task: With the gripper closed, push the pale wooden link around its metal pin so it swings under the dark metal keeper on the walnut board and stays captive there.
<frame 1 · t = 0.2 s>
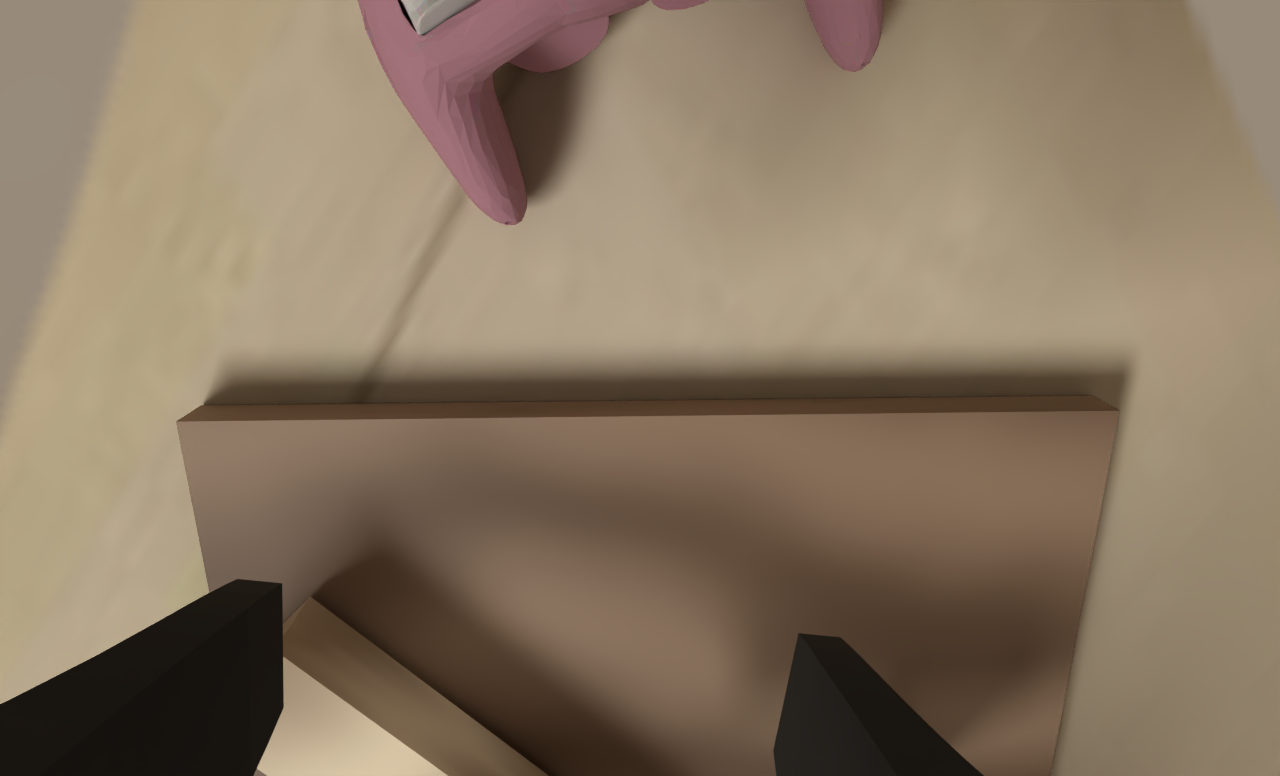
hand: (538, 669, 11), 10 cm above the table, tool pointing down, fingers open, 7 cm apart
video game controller: (630, 24, 18), on the table
walnut board: (651, 747, 24), on the table
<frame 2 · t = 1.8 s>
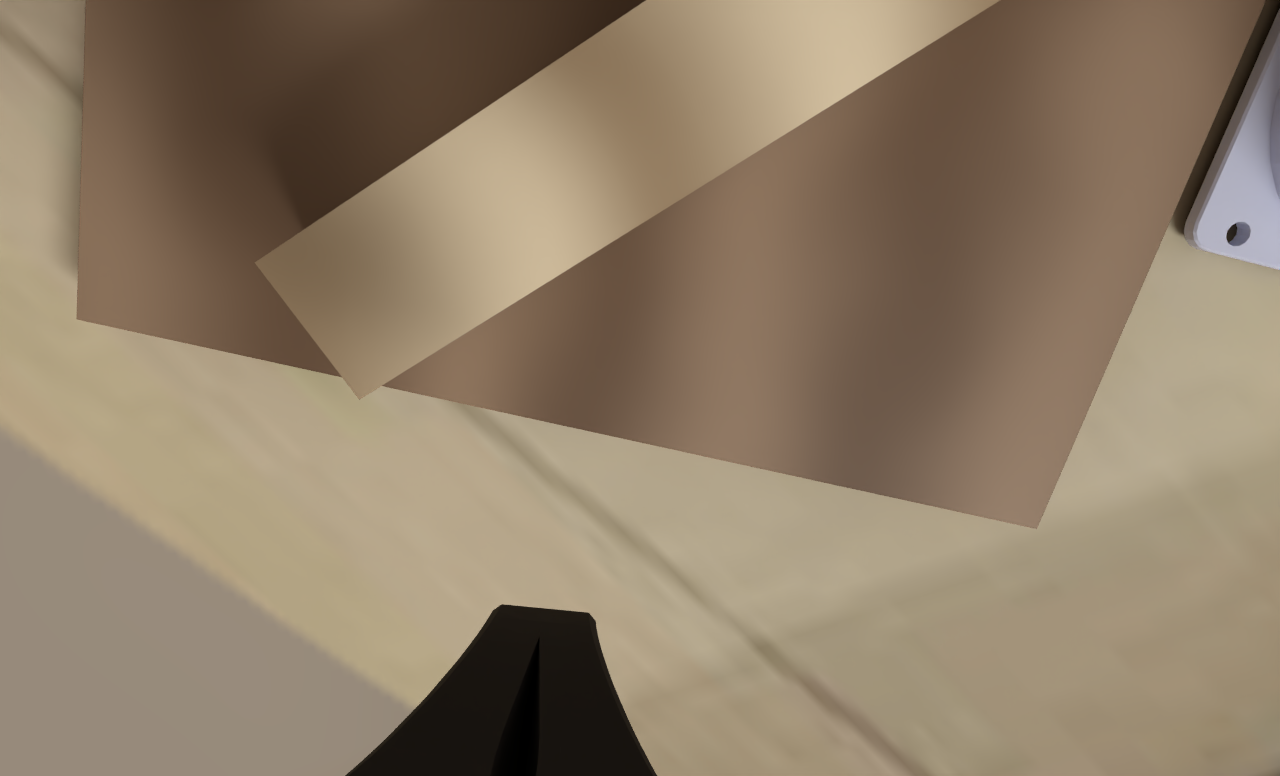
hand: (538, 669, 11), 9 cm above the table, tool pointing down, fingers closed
wooden link: (741, 53, 13), point 4 cm above the table, hinge at 45.0°
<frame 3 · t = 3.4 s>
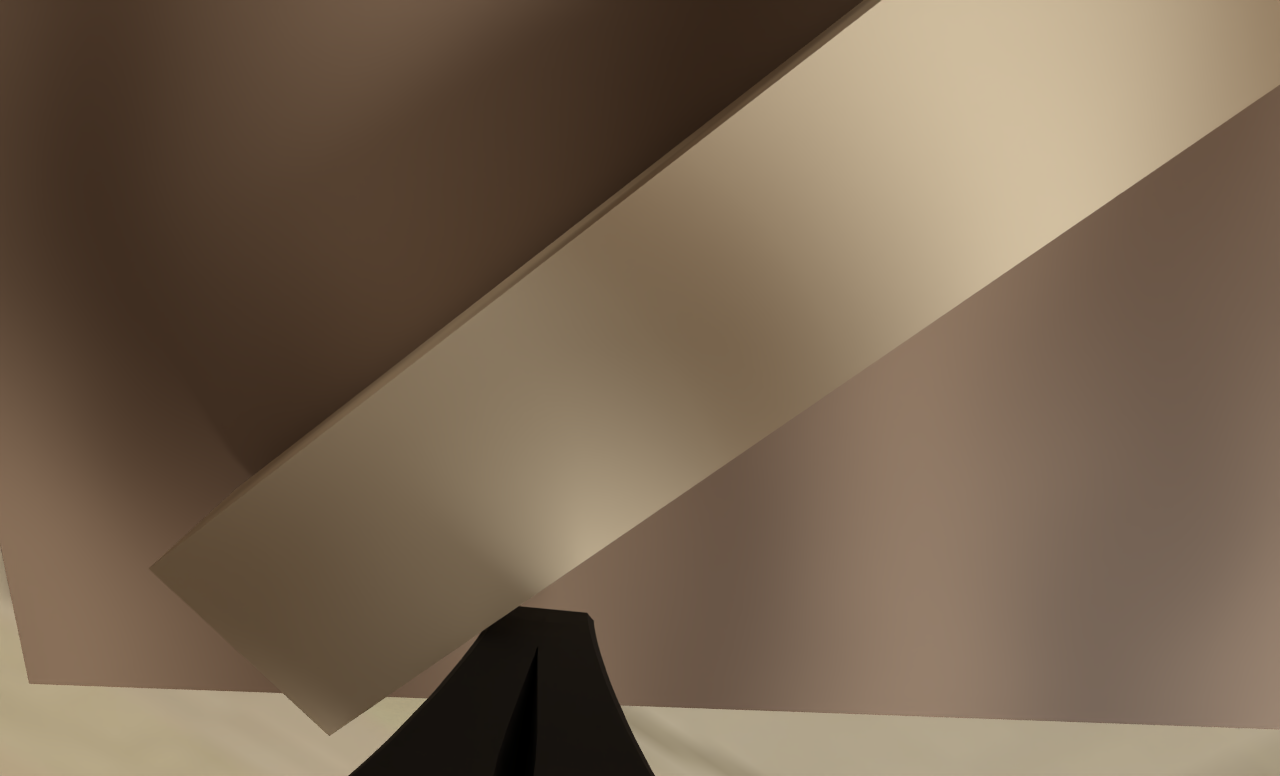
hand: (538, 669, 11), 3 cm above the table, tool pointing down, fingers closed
wooden link: (878, 196, 8), point 4 cm above the table, hinge at 40.2°, touching gripper
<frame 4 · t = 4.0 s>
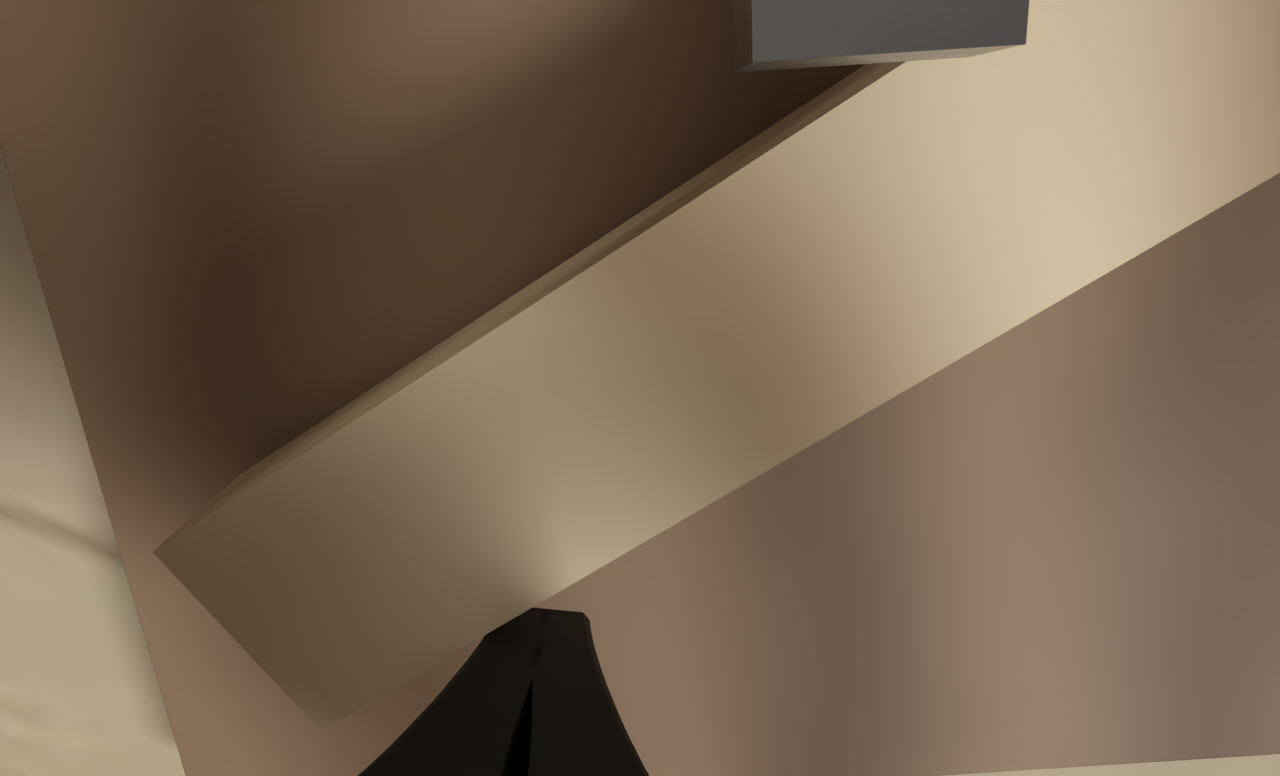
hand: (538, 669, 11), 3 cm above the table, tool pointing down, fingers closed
wooden link: (912, 236, 8), point 4 cm above the table, hinge at 29.1°, touching gripper
walnut board: (830, 66, 11), on the table
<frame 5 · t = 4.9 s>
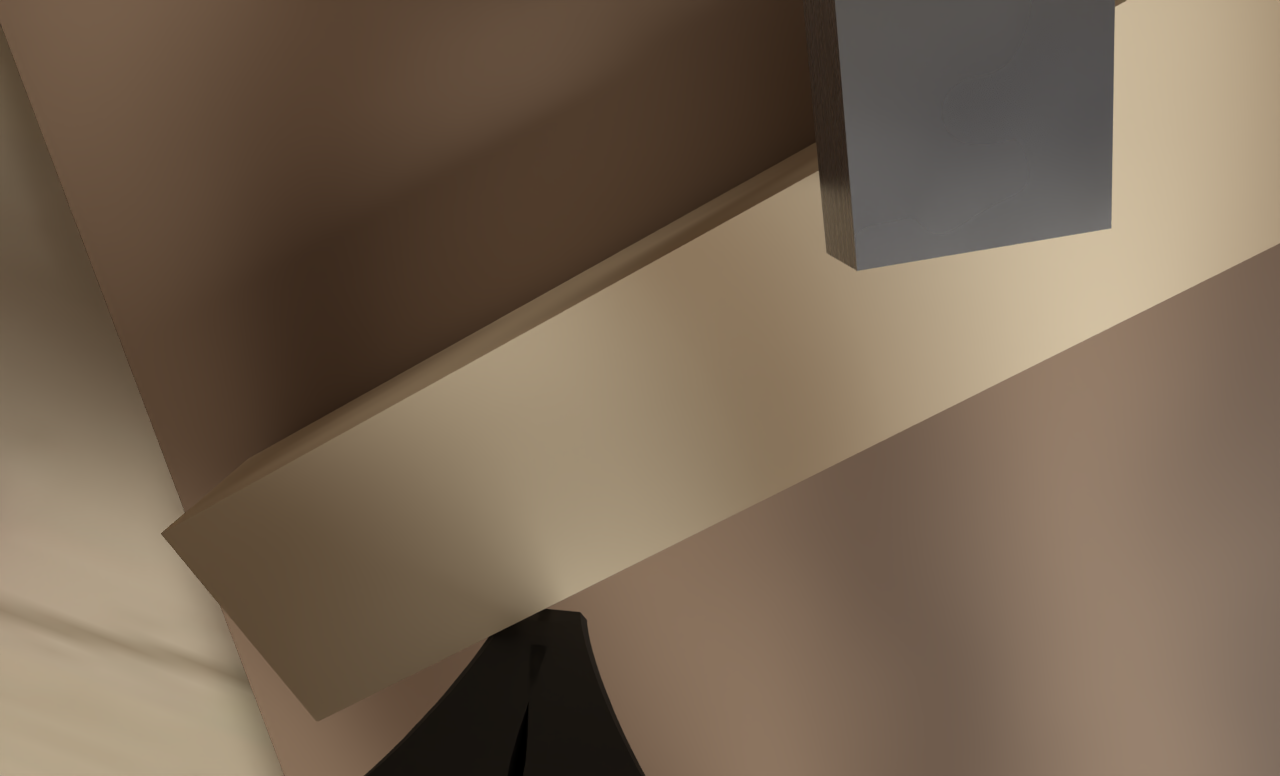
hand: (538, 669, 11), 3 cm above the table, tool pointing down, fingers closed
wooden link: (945, 268, 8), point 4 cm above the table, hinge at 19.3°, touching gripper
metal keeper: (802, 67, 11), resting on walnut board
walnut board: (880, 163, 12), on the table
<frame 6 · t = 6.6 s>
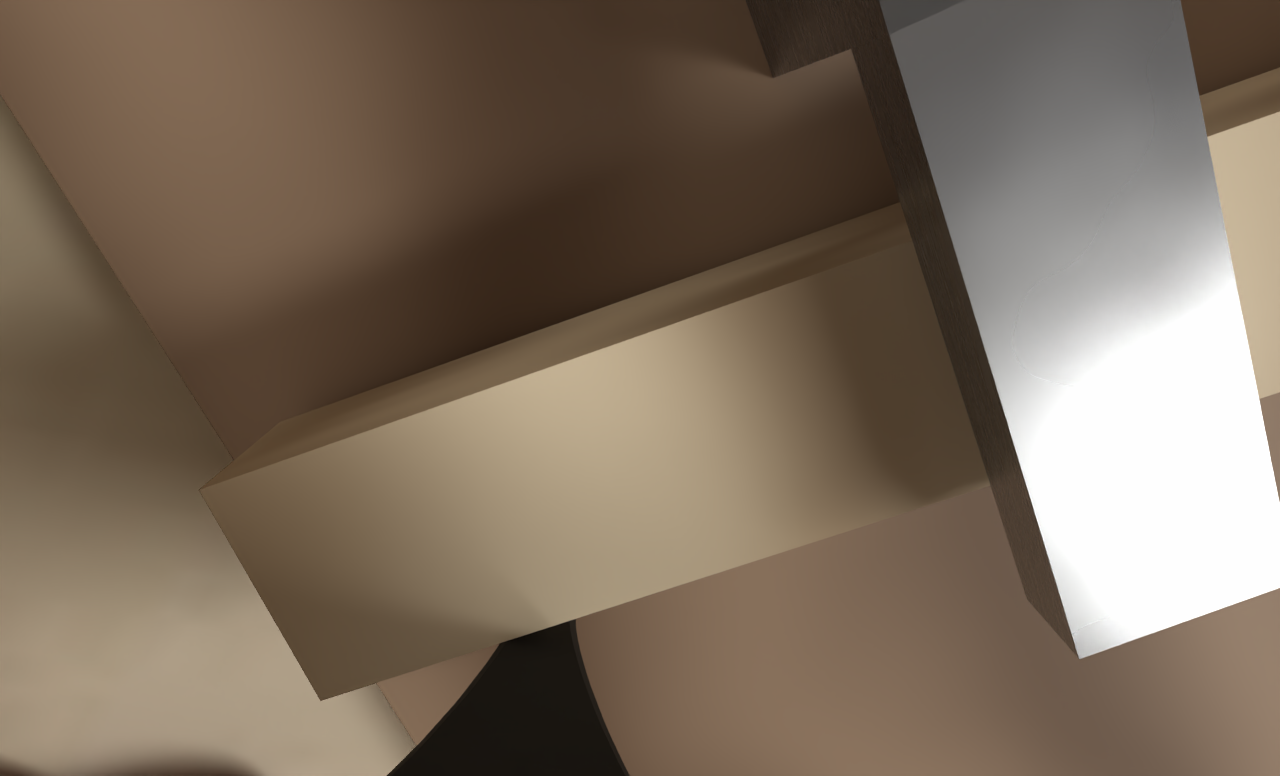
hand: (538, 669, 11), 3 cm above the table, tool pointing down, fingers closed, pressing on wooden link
wooden link: (1025, 349, 8), point 4 cm above the table, hinge at -3.7°, touching gripper
metal keeper: (908, 311, 12), resting on walnut board
walnut board: (996, 371, 13), on the table
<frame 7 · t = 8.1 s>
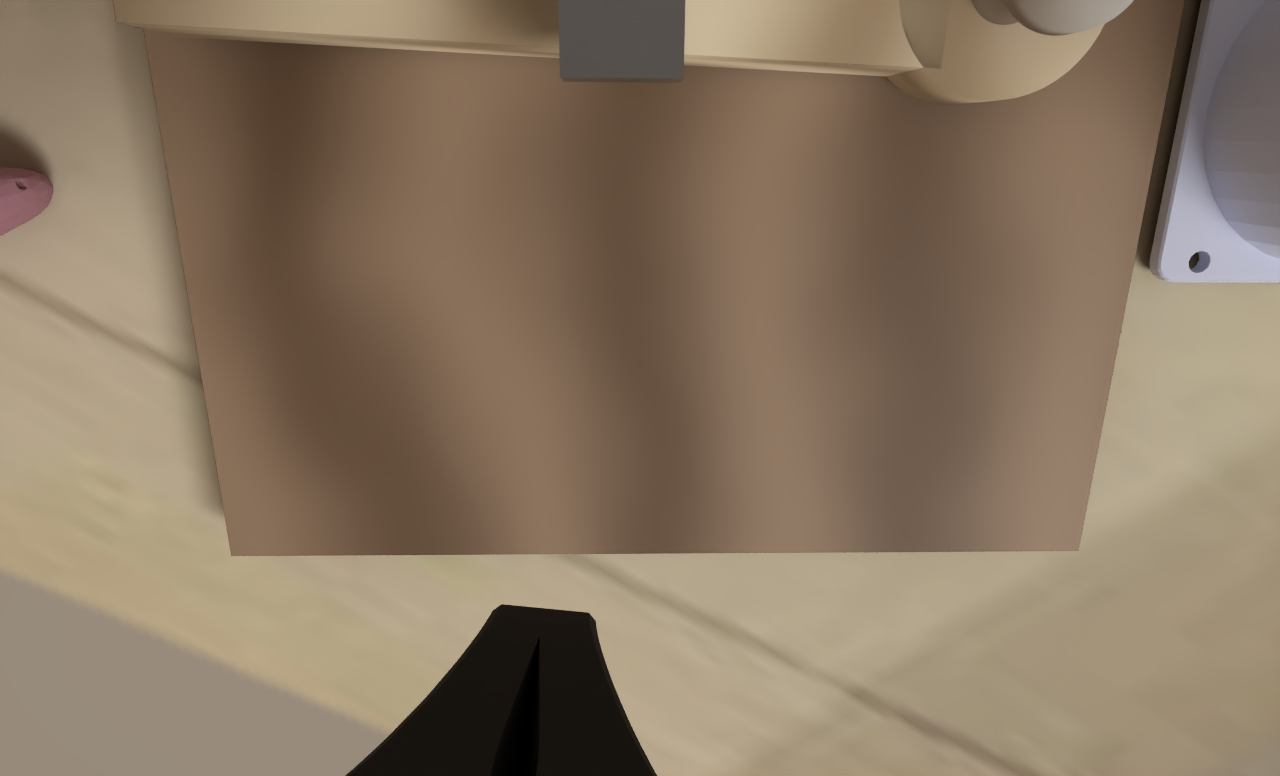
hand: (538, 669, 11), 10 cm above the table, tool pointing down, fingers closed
metal keeper: (621, 10, 18), resting on walnut board
walnut board: (664, 82, 18), on the table
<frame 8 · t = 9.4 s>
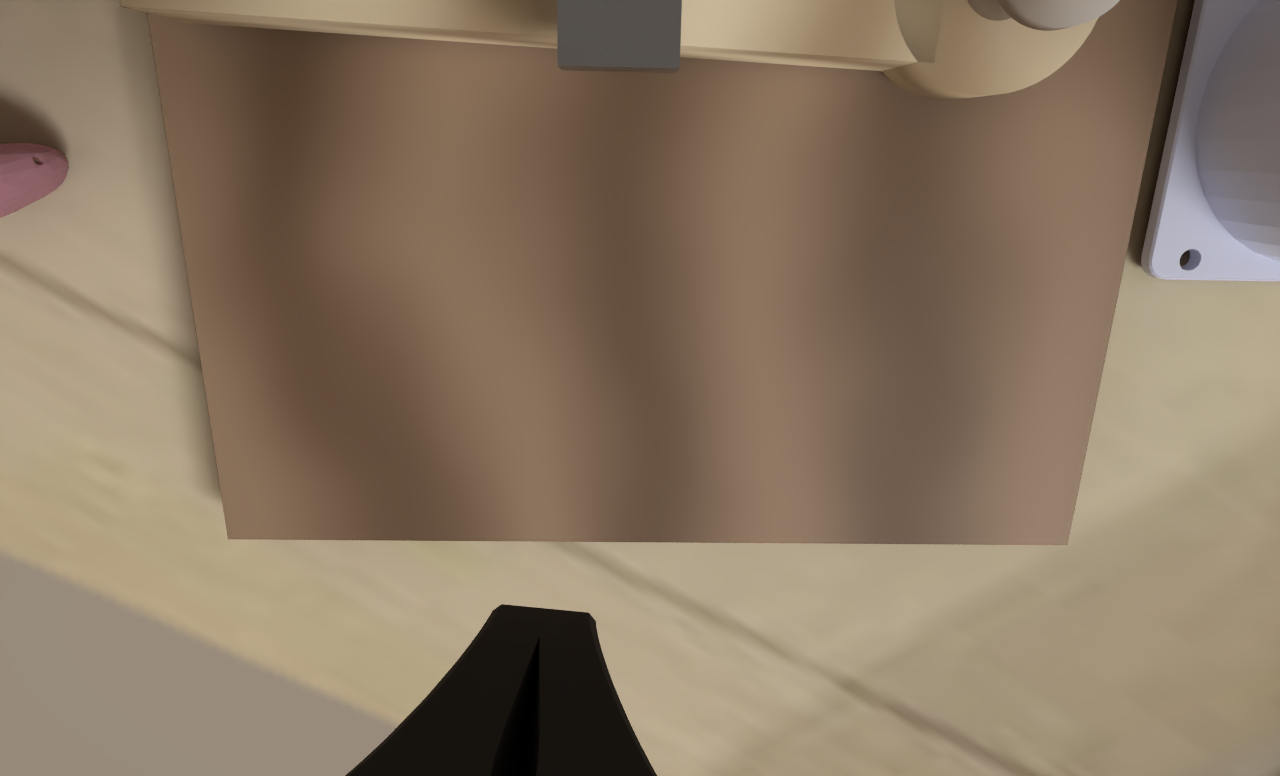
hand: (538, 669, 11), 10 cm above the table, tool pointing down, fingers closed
metal keeper: (621, 2, 18), resting on walnut board
walnut board: (663, 74, 18), on the table
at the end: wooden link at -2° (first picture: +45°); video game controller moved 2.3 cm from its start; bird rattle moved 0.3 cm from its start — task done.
